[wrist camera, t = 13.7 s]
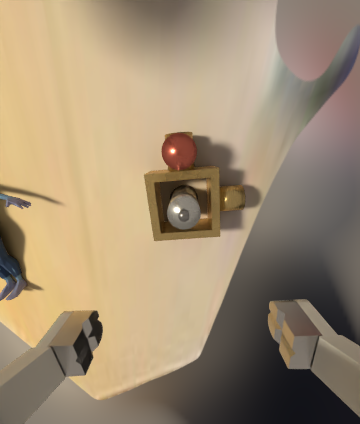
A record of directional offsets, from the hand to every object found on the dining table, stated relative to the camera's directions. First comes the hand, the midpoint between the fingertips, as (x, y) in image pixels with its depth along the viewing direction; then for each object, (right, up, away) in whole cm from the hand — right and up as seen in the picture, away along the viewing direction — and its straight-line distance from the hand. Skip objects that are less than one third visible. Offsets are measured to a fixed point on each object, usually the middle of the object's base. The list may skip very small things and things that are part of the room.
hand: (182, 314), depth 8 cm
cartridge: (+1, +7, +22) cm, 23 cm away
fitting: (+2, +10, +21) cm, 23 cm away
